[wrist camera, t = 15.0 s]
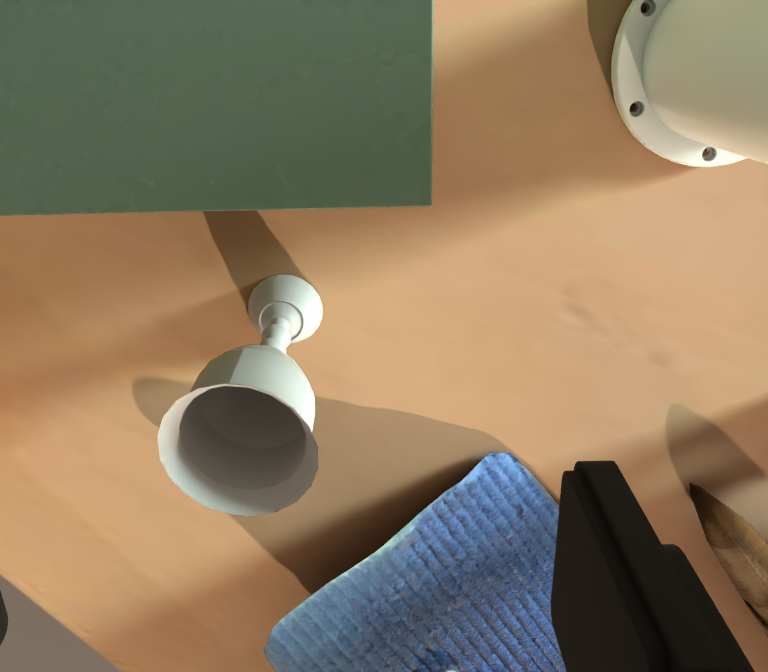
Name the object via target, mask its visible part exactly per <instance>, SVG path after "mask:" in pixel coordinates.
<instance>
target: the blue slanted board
mask: <svg viewBox="0 0 768 672" xmlns="http://www.w3.org/2000/svg"><path fill="white" fill-rule="evenodd" d="M558 517H559V505H558V504H557V502H556V501H555V500H554V499H553V498H552V497H551V495H550V494H549V493H548V492H547V491H546V489H545V488H544V487H543V486H542V485H541V484H540V482H539V481H538V480H537V479H536V478H535V477H534V476H533V475H532V474H531V473H530V472H529V471H528V470H527V469H526V468H525V467H524V466H523V465H522V464H521V463H520V462H519V461H518V460H517V459H516V458H515V457H514V456H513V455H512V454H511V453H492V452H489V454H488V455H487V456H486V457H485V458H484V459H483V460H482V461H481V462H480V463H479V464H478V465H477V466H476V467H475V468H474V469H473V470H472V471H471V472H470V473H469V474H468V475H467V476H466V477H465V478H464V479H463V480H462V481H461V482H460V483H458V484H456V485H455V486H453V487H452V488H450V489H449V490H447V491H446V492H444V493H443V494H442V495H441V496H440V497H438V498H437V499H436V500H435V501H434V502H433V503H431V504H430V505H429V506H428V507H427V508H425V509H424V510H423V511H422V512H420V513H419V514H418V515H417V516H416V517H415V518H414V519H413V520H411V521H410V522H409V523H408V524H407V525H406V526H405V527H404V528H403V529H402V530H400V531H399V532H398V533H397V534H396V535H395V536H394V537H392V538H391V539H390V540H389V541H388V542H387V543H386V544H384V545H383V546H382V547H381V548H380V549H378V550H377V551H376V552H375V553H373V554H372V555H370V556H369V557H367V558H366V559H364V560H363V561H361V562H360V563H358V564H357V565H355V566H354V567H352V568H351V569H349V570H348V571H346V572H344V573H343V574H341V575H340V576H338V577H337V578H335V579H334V580H332V581H330V582H329V583H327V584H326V585H325V586H323V587H322V588H321V589H319V590H318V591H317V592H315V593H314V594H313V595H311V596H310V597H309V598H307V599H306V600H305V601H303V602H302V603H301V604H299V605H298V606H297V607H296V608H294V609H293V610H292V611H290V612H289V613H288V614H286V615H285V616H284V617H283V618H282V619H281V620H280V621H279V622H278V623H277V624H276V625H275V627H274V628H273V629H272V631H271V633H270V636H269V639H268V642H267V645H266V647H265V649H264V652H265V655H266V657H267V659H268V661H269V663H270V664H271V665H272V667H273V668H274V670H275V671H276V672H566V668H565V665H564V662H563V658H562V655H561V652H560V648H559V645H558V642H557V638H556V635H555V632H554V628H553V624H552V619H551V592H552V582H553V571H554V560H555V549H556V539H557V528H558Z"/></svg>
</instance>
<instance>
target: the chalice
mask: <svg viewBox="0 0 768 672" xmlns="http://www.w3.org/2000/svg"><path fill="white" fill-rule="evenodd" d="M248 312H249V316H250V318H251V321H252V324H253V325H254V326H255V328H256V329H257V330H258V331H259V333H260V334H261V335H262V341H261V343H260V344H259V345H247V346H242V347H238V348H235V349H233V350H230V351H228V352H225V353H223V354H222V355H220V356H218V357H216V358H215V359H213V360H211V361H210V362H209V363H208V364H207V365H206V367H205V368H204V369H203V370H202V372H201V373H200V374H199V376H198V378H197V380H196V382H195V384H194V386H193V387H192V389H191V391H190V393H189V394H187V395H185V396H184V397H182V398H180V399H178V400H177V401H176V402H175V403H174V404H173V406H172V407H171V408H170V409H169V411H168V412H167V413H166V414H165V415H164V417H163V419H162V422H161V426H160V430H159V433H158V437H157V440H158V447H159V455H160V460H161V462H162V464H163V465H164V467H165V469H166V471H167V473H168V475H169V477H170V479H171V480H172V481H173V482H174V483H175V484H176V485H177V486H178V487H179V488H180V489H181V490H182V491H183V492H184V493H185V494H186V495H188V496H189V497H191V498H193V499H194V500H196V501H198V502H199V503H201V504H203V505H204V506H206V507H208V508H212V509H215V510H218V511H221V512H224V513H227V514H233V515H247V516H256V515H262V514H267V513H273V512H277V511H279V510H281V509H283V508H285V507H287V506H289V505H291V504H293V503H295V502H297V501H298V500H299V499H300V497H301V496H302V495H303V494H304V493H305V492H306V491H307V490H308V489H309V488H310V487H311V485H312V482H313V480H314V477H315V475H316V472H317V470H318V446H317V444H316V441H315V439H314V437H313V434H312V429H313V423H314V417H315V396H314V394H313V391H312V389H311V386H310V384H309V382H308V380H307V378H306V376H305V375H304V373H303V371H302V370H301V368H300V367H299V366H298V365H297V364H296V362H295V361H294V360H293V359H292V358H291V357H289V356H288V355H286V348H287V347H288V345H289V344H292V343H295V342H299V341H303V340H304V339H306V338H308V337H309V336H311V335H312V334H313V333H314V332H315V330H316V329H317V328H318V327H319V324H320V322H321V319H322V303H321V300H320V297H319V295H318V293H317V292H316V291H315V289H314V288H313V287H312V286H311V285H310V284H309V283H307V282H306V281H305V280H303V279H301V278H298V277H296V276H293V275H282V274H279V275H275V276H271V277H268V278H266V279H264V280H263V281H261V282H260V283H258V285H257V286H256V287H255V288H254V290H253V291H252V292H251V296H250V299H249V302H248Z"/></svg>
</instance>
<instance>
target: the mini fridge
mask: <svg viewBox="0 0 768 672" xmlns="http://www.w3.org/2000/svg"><path fill="white" fill-rule="evenodd" d="M432 115H433V0H0V216H12V215H58V214H104V213H149V212H195V211H240V210H286V209H331V208H377V207H422V206H431V205H432Z"/></svg>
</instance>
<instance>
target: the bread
mask: <svg viewBox="0 0 768 672" xmlns="http://www.w3.org/2000/svg"><path fill="white" fill-rule="evenodd" d="M689 486H690V494H691V497H692V500H693V503H694V505H695V508H696V511H697V514H698V517H699V519H700V522H701V525H702V528H703V530H704V533H705V536H706V539H707V541H708V543H709V545H710V546H711V548H712V550H713V551H714V553H715V555H716V556H717V558H718V559H719V561H720V563H721V564H722V566H723V568H724V569H725V571H726V573H727V574H728V576H729V578H730V579H731V581H732V582H733V584H734V586H735V587H736V589H737V591H738V592H739V594H740V595H741V597H742V598H743V600H744V601H745V603H746V604H747V606H748V607H749V609H750V610H751V612H752V613H753V615H754V616H755V618H756V619H757V621H758V622H759V624H760V625H761V627H762V628H763V630H764V631H765V633H766V634H767V636H768V544H767V543H766V542H765V541H764V540H763V539H762V537H761V536H760V535H759V534H758V533H757V532H756V531H755V530H754V529H753V528H752V527H751V526H750V525H749V524H748V523H747V522H746V521H745V520H744V519H743V518H742V517H741V516H739V515H738V514H736V513H735V512H734V511H732V510H731V509H730V508H728V507H727V506H726V505H724V504H723V503H721V502H720V501H719V500H717V499H716V498H715V497H713V496H712V495H710V494H709V493H708V492H706V491H705V490H704V489H702V488H701V487H699V486H697V485H694V484H692V483H689Z"/></svg>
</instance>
